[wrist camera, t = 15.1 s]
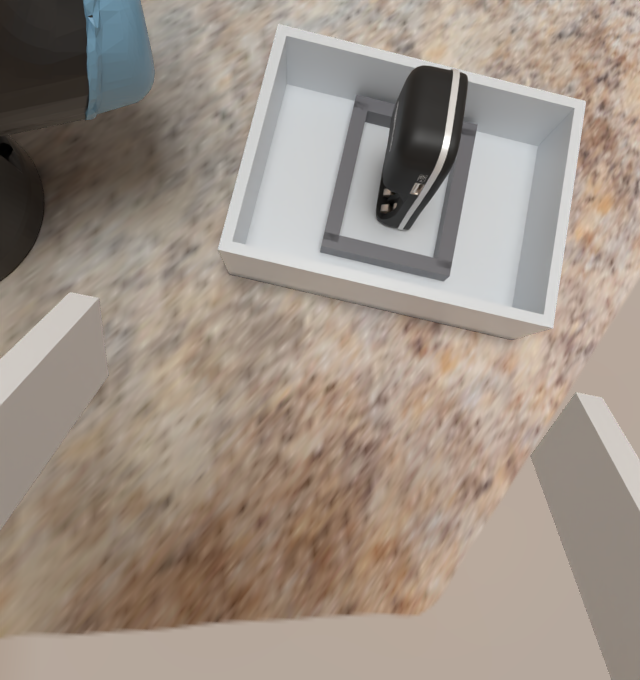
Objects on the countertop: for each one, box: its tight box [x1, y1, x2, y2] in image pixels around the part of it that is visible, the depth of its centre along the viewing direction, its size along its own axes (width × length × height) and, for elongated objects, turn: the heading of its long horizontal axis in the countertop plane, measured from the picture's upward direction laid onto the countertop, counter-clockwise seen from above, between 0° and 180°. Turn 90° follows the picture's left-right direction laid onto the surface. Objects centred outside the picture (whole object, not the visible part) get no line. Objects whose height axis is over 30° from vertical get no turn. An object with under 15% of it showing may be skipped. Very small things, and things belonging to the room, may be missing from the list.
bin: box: [218, 24, 586, 340], centre depth 36 cm, size 24×18×6 cm
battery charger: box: [376, 65, 468, 230], centre depth 33 cm, size 7×4×11 cm, turn 170°
